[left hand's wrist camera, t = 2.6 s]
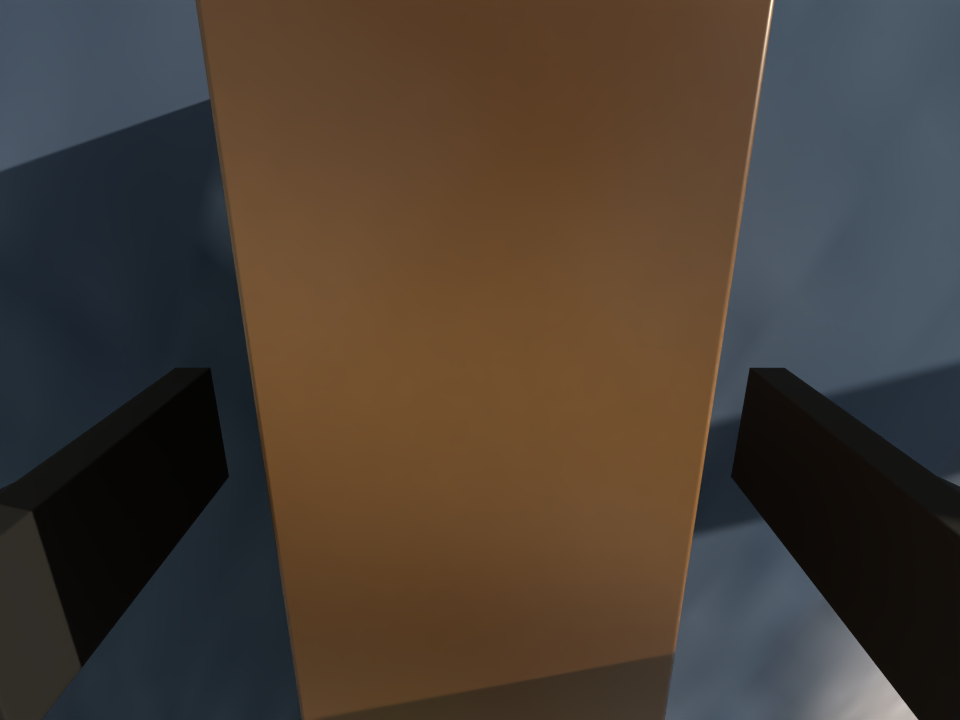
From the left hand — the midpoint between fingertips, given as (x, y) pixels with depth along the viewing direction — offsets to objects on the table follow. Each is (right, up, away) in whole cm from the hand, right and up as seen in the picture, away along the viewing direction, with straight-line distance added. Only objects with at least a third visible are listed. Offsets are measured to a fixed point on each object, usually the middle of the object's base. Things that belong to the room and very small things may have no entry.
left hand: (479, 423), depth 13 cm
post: (0, -26, +12) cm, 28 cm away
